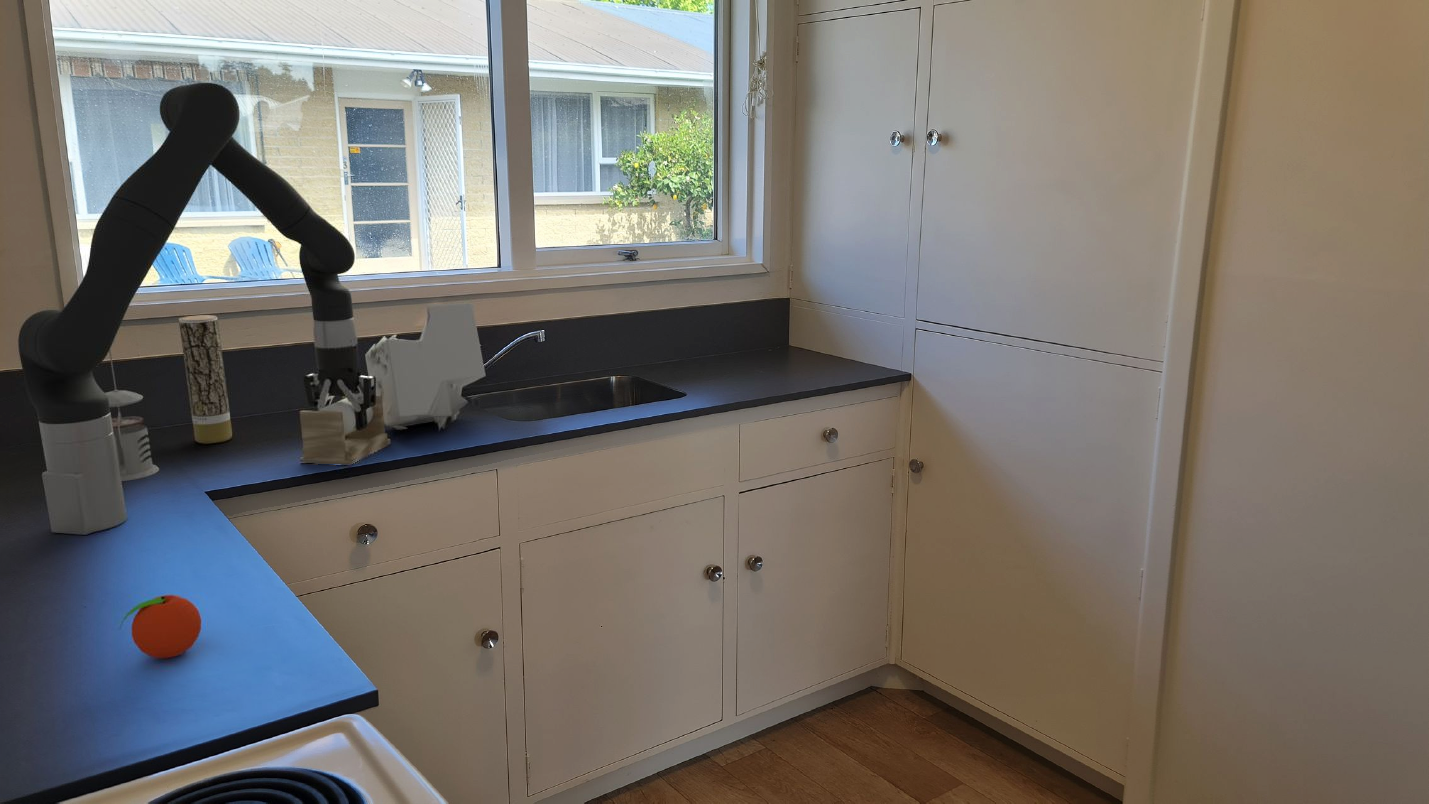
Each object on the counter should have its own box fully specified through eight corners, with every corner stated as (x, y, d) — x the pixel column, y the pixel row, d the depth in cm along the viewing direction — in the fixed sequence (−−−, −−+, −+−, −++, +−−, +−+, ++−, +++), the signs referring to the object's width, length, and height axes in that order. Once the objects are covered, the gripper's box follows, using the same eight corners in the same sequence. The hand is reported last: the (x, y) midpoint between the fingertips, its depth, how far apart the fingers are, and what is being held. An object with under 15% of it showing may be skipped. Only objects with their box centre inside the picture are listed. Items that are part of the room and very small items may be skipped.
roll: (345, 441, 183) (341, 408, 181) (314, 440, 184) (309, 407, 183) (375, 426, 193) (372, 395, 192) (346, 426, 194) (342, 394, 193)
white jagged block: (396, 434, 192) (373, 309, 194) (374, 444, 205) (353, 327, 207) (494, 419, 204) (472, 302, 205) (467, 429, 217) (446, 319, 218)
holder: (349, 466, 181) (344, 413, 179) (300, 463, 183) (294, 411, 181) (390, 443, 196) (386, 395, 193) (344, 441, 198) (340, 393, 195)
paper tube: (217, 445, 195) (201, 320, 190) (187, 443, 197) (170, 320, 191) (240, 436, 202) (225, 315, 196) (211, 434, 203) (195, 314, 197)
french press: (163, 462, 184) (143, 330, 179) (153, 480, 174) (132, 341, 168) (102, 468, 181) (81, 334, 175) (89, 487, 170) (65, 345, 165)
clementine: (129, 678, 107) (119, 618, 105) (121, 654, 112) (112, 596, 110) (210, 657, 111) (202, 599, 109) (199, 634, 117) (191, 578, 115)
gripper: (289, 345, 182) (299, 432, 186) (360, 347, 179) (368, 435, 183) (312, 338, 189) (322, 422, 193) (381, 340, 187) (389, 425, 191)
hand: (344, 428), depth 188 cm, fingers closed on roll, 6 cm apart
